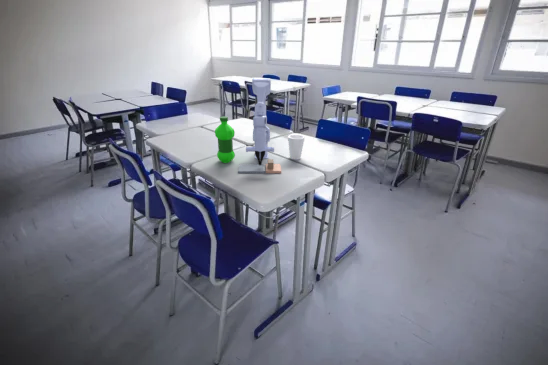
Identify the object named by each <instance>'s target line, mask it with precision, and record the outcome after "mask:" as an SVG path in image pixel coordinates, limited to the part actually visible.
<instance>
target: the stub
mask: <svg viewBox="0 0 548 365" xmlns="http://www.w3.org/2000/svg"><path fill="white" fill-rule="evenodd" d="M265 174H282V166H281V163H274V159H271V158H268V159H267V163H265Z"/></svg>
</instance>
